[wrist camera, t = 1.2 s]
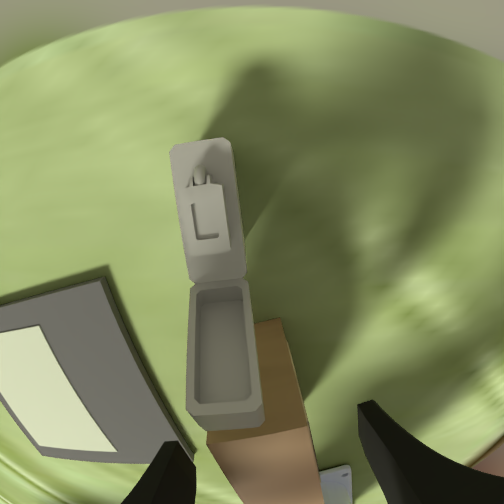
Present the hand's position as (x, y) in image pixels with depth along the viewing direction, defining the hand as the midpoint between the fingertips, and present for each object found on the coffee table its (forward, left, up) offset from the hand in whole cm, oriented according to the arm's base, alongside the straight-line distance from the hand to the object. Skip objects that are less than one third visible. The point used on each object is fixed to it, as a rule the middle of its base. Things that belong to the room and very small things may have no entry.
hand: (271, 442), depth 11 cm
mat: (0, +13, -5) cm, 14 cm away
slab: (0, 0, -5) cm, 5 cm away
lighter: (+7, 0, -5) cm, 9 cm away
